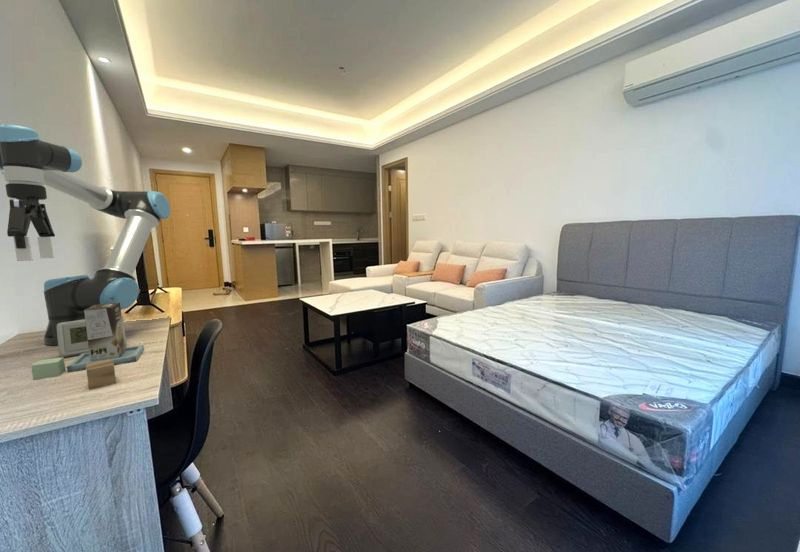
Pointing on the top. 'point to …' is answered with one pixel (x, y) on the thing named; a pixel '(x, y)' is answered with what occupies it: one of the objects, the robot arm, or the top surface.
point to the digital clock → (74, 338)
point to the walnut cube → (100, 374)
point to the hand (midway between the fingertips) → (36, 259)
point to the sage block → (48, 368)
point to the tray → (128, 356)
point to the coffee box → (104, 331)
